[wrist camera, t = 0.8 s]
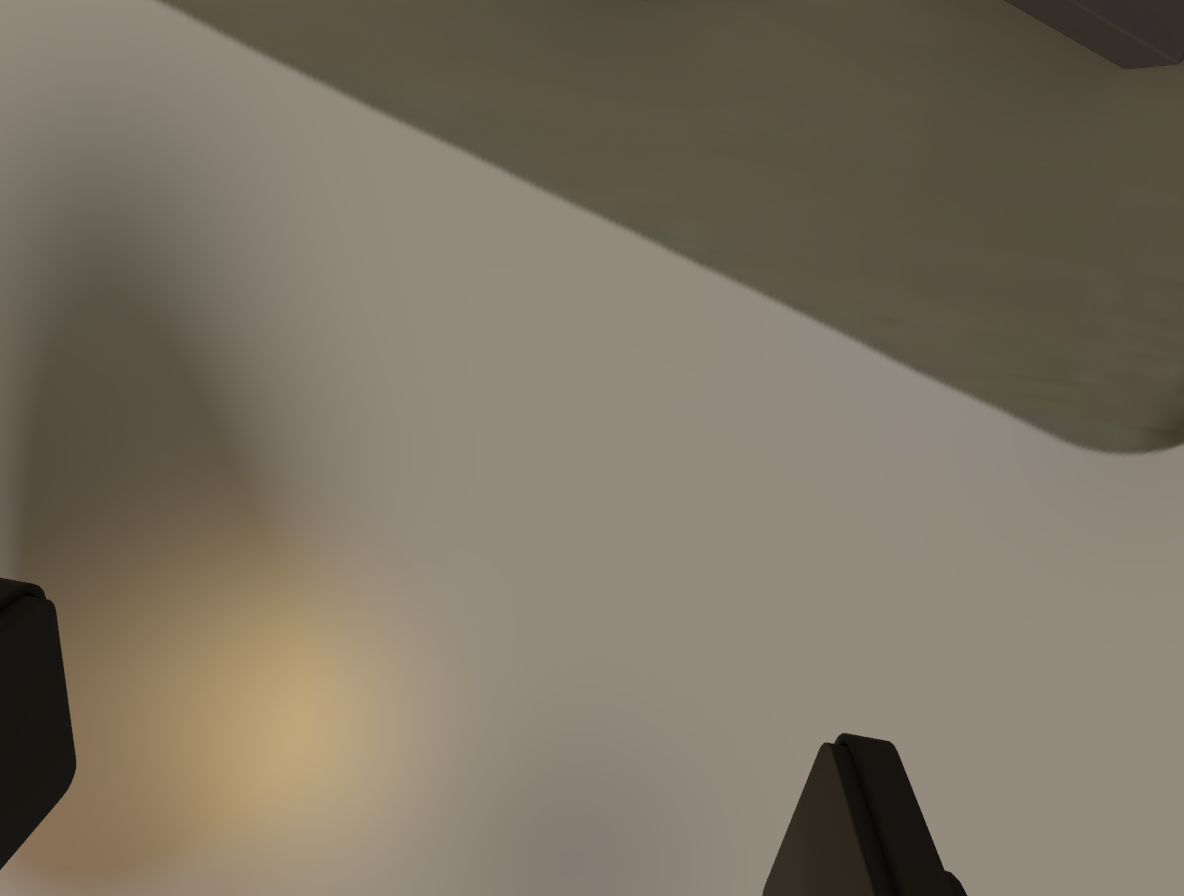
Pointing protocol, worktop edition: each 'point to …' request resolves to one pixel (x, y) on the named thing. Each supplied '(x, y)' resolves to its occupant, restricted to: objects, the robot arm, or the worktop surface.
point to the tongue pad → (1118, 27)
